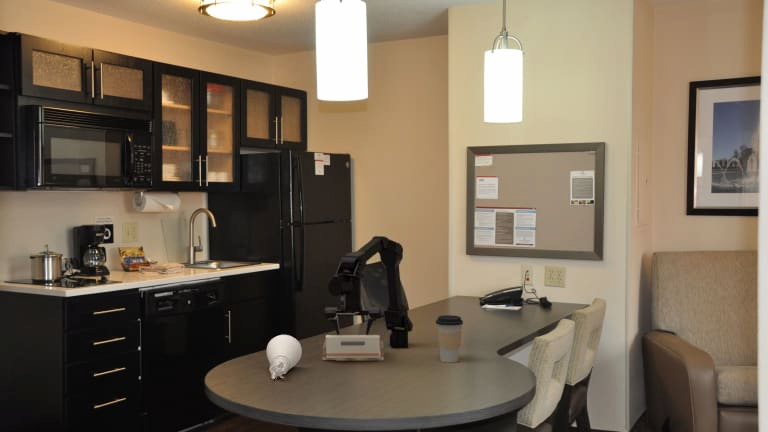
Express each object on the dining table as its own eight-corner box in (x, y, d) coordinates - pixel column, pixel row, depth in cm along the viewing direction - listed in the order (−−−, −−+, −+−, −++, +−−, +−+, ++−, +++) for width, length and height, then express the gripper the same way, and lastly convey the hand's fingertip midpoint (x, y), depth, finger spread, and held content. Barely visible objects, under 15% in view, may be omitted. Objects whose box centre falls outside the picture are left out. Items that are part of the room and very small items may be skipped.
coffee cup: (465, 358, 251) (465, 315, 250) (459, 364, 242) (459, 320, 241) (439, 356, 254) (439, 314, 253) (432, 362, 245) (432, 318, 244)
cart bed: (382, 352, 260) (382, 340, 260) (383, 360, 248) (383, 348, 248) (324, 352, 260) (324, 341, 260) (322, 360, 248) (322, 348, 247)
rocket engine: (279, 351, 218) (285, 327, 235) (250, 374, 220) (259, 349, 237) (304, 378, 220) (309, 352, 238) (276, 400, 222) (283, 373, 239)
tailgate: (379, 355, 248) (379, 334, 243) (379, 358, 246) (379, 338, 242) (326, 355, 247) (325, 335, 243) (326, 359, 246) (325, 338, 241)
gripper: (380, 288, 251) (379, 332, 252) (326, 288, 251) (326, 332, 252) (380, 293, 240) (380, 340, 241) (324, 293, 240) (324, 340, 241)
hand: (352, 338), depth 244 cm, fingers open, 9 cm apart
